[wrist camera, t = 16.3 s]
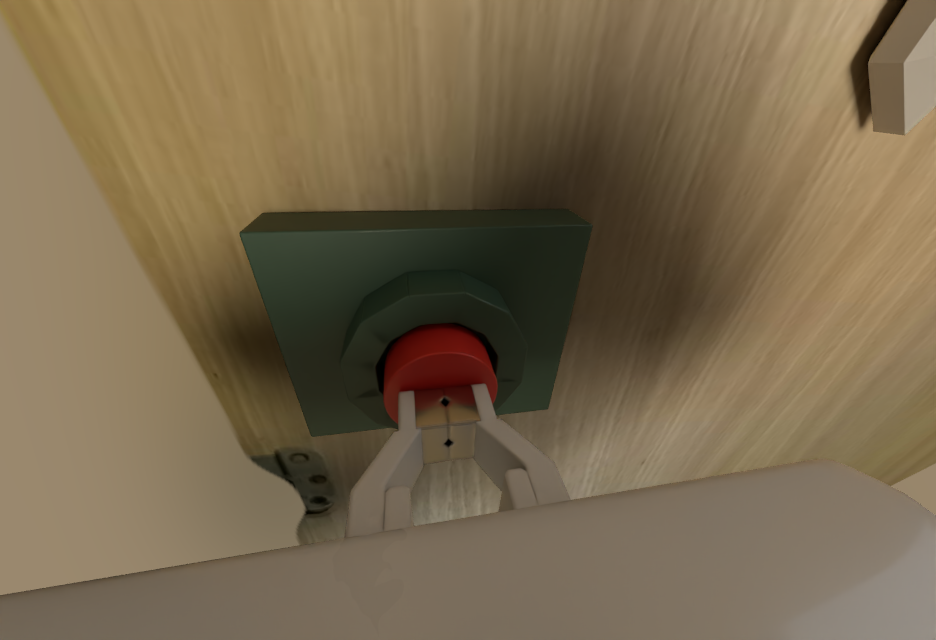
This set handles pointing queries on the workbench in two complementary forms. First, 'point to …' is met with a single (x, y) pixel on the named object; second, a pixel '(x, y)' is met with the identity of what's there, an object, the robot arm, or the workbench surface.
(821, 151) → the workbench surface
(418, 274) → the button box
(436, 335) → the button
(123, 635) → the robot arm
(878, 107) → the beige holed clip
